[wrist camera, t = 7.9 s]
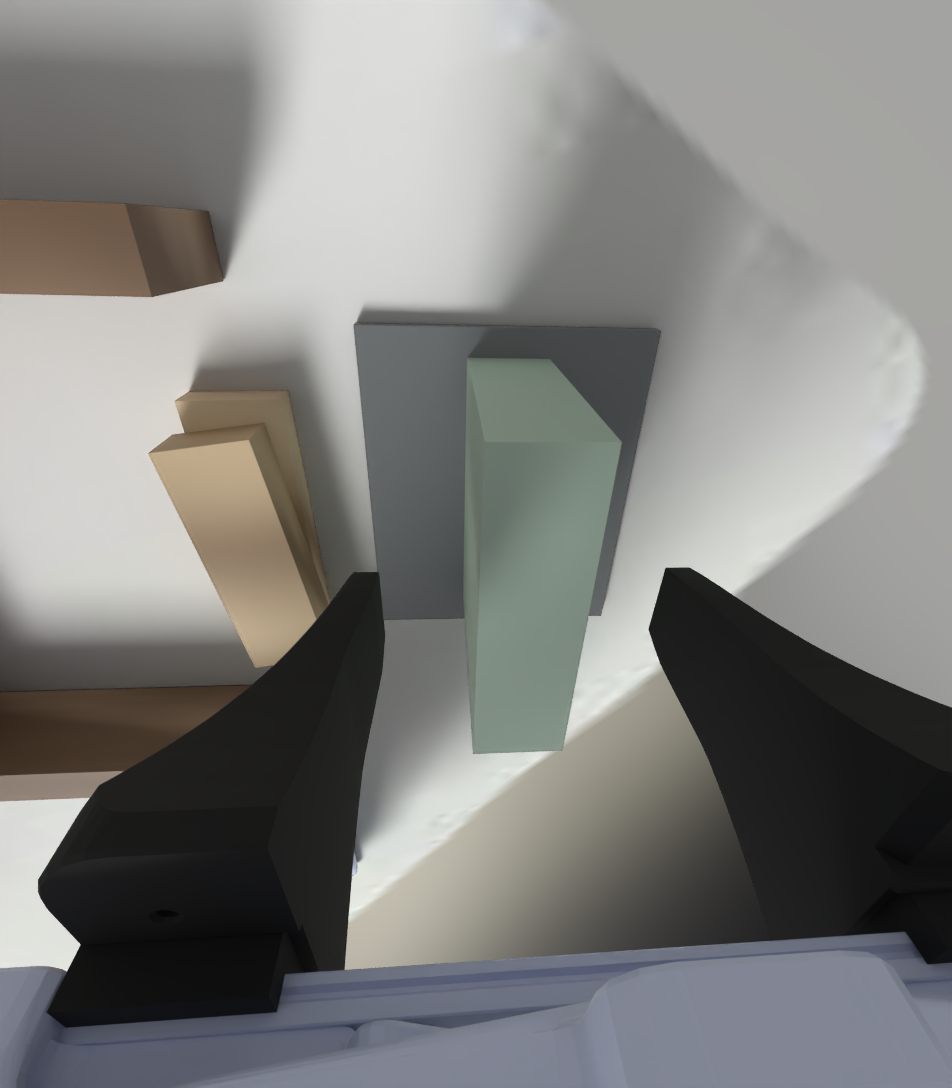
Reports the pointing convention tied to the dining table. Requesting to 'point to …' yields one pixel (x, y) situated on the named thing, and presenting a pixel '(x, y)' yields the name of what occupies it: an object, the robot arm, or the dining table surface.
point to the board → (529, 546)
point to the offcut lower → (278, 417)
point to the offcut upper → (245, 533)
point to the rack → (98, 270)
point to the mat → (440, 440)
